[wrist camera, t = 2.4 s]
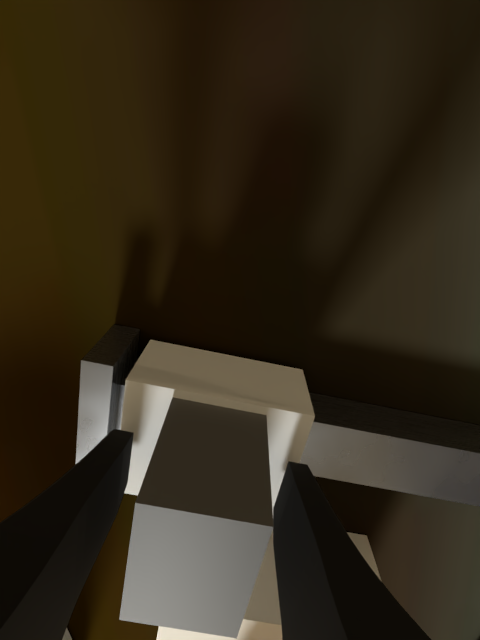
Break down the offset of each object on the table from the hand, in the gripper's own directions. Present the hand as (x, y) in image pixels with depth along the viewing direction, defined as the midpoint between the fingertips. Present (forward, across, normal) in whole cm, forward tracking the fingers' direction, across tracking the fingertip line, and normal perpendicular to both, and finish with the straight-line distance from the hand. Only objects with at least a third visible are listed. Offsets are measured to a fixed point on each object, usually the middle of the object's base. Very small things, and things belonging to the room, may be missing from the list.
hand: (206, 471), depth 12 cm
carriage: (+4, 0, 0) cm, 4 cm away
